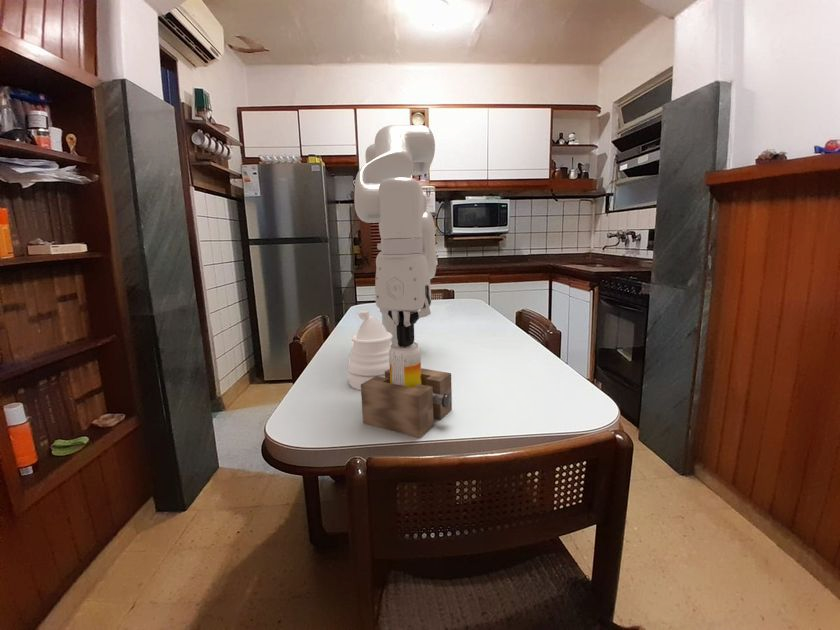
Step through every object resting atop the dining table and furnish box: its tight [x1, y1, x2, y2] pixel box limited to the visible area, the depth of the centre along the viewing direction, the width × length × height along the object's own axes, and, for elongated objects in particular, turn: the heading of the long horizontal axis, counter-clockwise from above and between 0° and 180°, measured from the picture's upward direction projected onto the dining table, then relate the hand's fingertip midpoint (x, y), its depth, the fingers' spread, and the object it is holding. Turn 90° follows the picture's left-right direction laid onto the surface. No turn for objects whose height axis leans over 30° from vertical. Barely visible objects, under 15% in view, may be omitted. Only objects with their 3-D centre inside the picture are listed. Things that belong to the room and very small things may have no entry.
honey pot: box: [347, 310, 393, 391], centre depth 99 cm, size 13×13×18 cm
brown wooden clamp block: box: [360, 367, 453, 439], centre depth 80 cm, size 13×13×8 cm
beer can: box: [389, 341, 422, 388], centre depth 79 cm, size 6×6×15 cm
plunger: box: [433, 392, 453, 408], centre depth 77 cm, size 5×3×3 cm, turn 60°
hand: (405, 344), depth 77 cm, fingers closed
